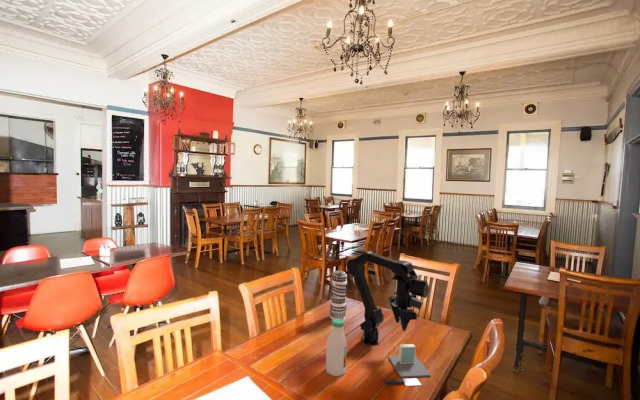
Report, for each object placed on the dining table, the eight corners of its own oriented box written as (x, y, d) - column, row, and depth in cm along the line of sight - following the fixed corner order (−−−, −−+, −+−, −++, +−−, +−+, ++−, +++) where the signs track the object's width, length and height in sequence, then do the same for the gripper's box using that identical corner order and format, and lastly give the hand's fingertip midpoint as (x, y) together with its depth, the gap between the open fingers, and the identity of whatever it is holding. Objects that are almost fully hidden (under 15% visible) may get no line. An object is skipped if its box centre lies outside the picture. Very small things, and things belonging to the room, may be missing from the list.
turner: (387, 387, 118) (387, 384, 118) (383, 380, 122) (383, 377, 122) (421, 385, 119) (421, 383, 119) (416, 378, 123) (416, 376, 123)
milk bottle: (339, 379, 121) (342, 327, 120) (321, 372, 125) (324, 321, 124) (348, 369, 127) (351, 319, 126) (331, 362, 132) (334, 314, 130)
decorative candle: (349, 317, 176) (352, 271, 174) (339, 322, 169) (341, 275, 167) (336, 312, 182) (338, 268, 180) (325, 317, 174) (327, 271, 173)
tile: (400, 363, 132) (401, 347, 131) (398, 361, 134) (399, 344, 133) (414, 363, 133) (415, 346, 132) (412, 360, 135) (413, 344, 134)
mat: (400, 377, 124) (400, 376, 123) (388, 357, 137) (388, 356, 137) (430, 376, 125) (430, 374, 125) (415, 356, 139) (415, 355, 139)
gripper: (430, 299, 131) (428, 337, 132) (412, 284, 149) (409, 317, 150) (404, 299, 129) (401, 337, 131) (388, 283, 148) (386, 317, 149)
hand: (400, 326), depth 140 cm, fingers open, 7 cm apart
